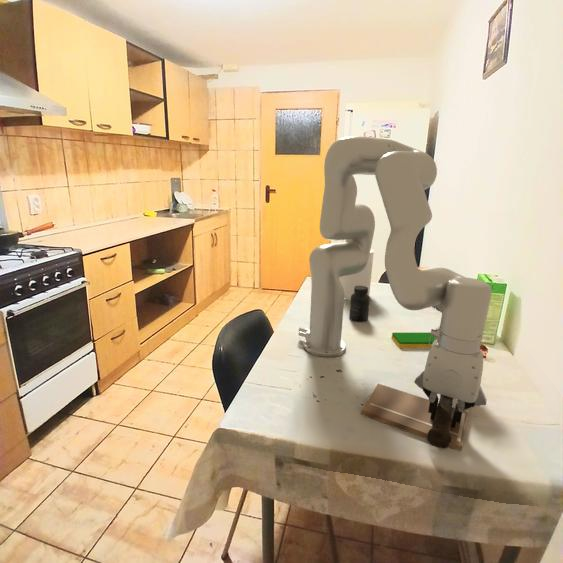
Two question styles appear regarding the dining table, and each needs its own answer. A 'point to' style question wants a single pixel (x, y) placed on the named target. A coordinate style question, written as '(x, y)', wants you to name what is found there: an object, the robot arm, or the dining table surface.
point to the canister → (358, 279)
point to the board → (409, 413)
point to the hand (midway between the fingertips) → (443, 418)
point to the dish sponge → (413, 340)
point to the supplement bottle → (359, 304)
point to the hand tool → (441, 424)
